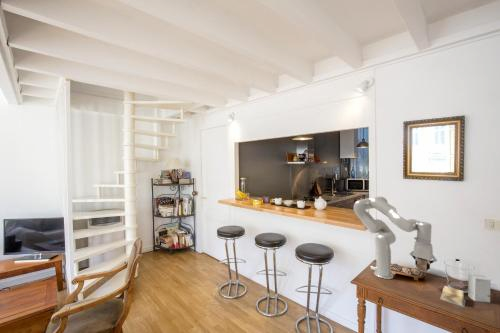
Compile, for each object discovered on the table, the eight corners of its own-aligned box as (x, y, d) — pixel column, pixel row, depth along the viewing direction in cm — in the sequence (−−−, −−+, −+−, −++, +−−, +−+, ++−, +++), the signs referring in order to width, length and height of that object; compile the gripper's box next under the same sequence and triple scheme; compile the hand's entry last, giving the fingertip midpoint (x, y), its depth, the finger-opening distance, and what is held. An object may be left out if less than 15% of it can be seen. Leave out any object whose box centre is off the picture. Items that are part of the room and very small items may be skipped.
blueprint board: (430, 298, 144) (430, 296, 144) (434, 290, 154) (434, 288, 154) (475, 313, 130) (475, 311, 130) (476, 303, 139) (476, 301, 139)
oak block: (442, 299, 142) (442, 290, 142) (444, 293, 148) (444, 285, 148) (462, 305, 135) (462, 296, 135) (463, 299, 142) (463, 291, 142)
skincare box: (474, 302, 140) (475, 278, 140) (467, 297, 146) (467, 273, 146) (491, 304, 138) (491, 279, 138) (482, 298, 144) (483, 274, 144)
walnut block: (416, 268, 155) (417, 258, 155) (418, 266, 159) (419, 256, 158) (426, 271, 152) (426, 261, 151) (427, 269, 155) (428, 258, 155)
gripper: (407, 238, 158) (405, 265, 159) (439, 246, 146) (437, 274, 146) (409, 236, 163) (408, 261, 164) (440, 243, 151) (439, 270, 152)
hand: (422, 267), depth 155 cm, fingers closed on walnut block, 5 cm apart
